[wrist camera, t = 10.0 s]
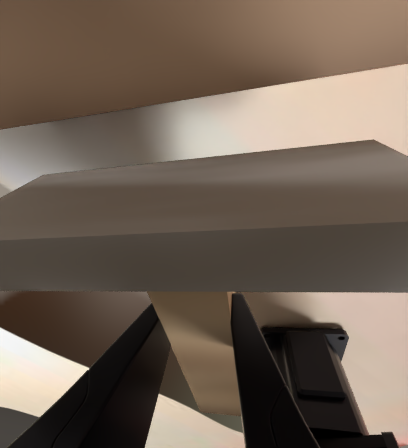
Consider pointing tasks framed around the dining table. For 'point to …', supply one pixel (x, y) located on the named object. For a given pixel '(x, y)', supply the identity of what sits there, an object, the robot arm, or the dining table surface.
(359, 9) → the board
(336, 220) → the scraper
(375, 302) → the dining table surface
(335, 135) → the dining table surface
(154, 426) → the dining table surface
